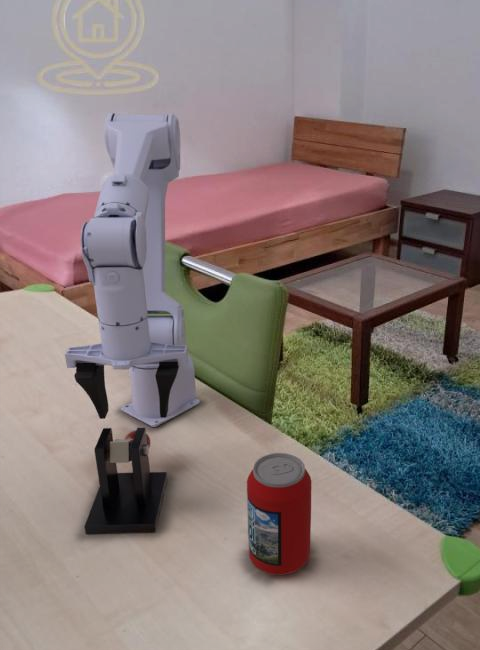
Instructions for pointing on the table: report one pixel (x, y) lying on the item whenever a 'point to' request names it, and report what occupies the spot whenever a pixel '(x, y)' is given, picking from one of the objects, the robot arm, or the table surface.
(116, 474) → the bracket
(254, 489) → the beverage can
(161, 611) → the table surface
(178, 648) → the table surface
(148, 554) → the table surface
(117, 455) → the lever
